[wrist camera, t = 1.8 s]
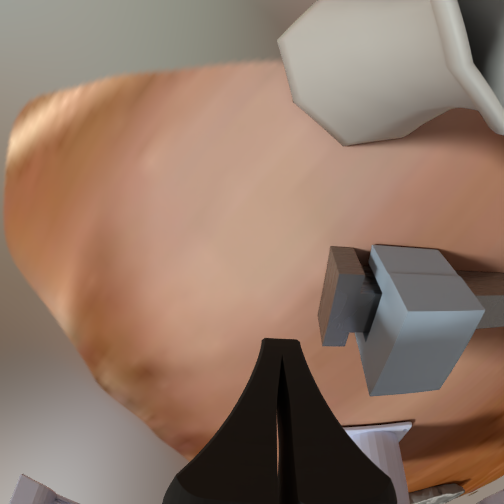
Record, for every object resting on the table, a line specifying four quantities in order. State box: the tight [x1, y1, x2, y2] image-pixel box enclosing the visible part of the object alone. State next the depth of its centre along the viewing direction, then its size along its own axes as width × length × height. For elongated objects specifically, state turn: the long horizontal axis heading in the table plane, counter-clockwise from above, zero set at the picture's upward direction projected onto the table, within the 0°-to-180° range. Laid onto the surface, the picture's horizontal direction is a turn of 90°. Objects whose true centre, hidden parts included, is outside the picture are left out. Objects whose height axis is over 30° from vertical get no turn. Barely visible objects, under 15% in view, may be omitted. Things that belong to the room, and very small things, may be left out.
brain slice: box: [408, 483, 465, 504], centre depth 39 cm, size 20×17×3 cm
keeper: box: [355, 245, 485, 396], centre depth 14 cm, size 5×4×5 cm
